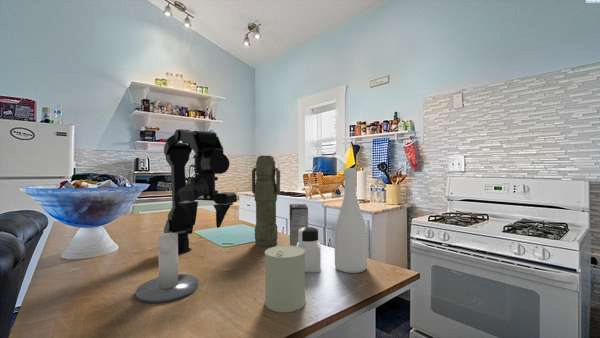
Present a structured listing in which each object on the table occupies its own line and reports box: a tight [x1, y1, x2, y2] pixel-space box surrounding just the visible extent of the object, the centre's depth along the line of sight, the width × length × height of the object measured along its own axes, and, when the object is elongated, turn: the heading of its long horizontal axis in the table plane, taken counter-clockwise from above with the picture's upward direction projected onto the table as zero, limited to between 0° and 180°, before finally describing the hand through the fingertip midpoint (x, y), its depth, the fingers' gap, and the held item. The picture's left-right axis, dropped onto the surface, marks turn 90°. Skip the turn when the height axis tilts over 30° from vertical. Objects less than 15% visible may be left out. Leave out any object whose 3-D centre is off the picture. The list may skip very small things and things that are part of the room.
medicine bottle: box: [296, 226, 322, 273], centre depth 84 cm, size 7×7×12 cm
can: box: [264, 245, 307, 313], centre depth 63 cm, size 9×9×12 cm
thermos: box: [251, 155, 281, 249], centre depth 110 cm, size 9×12×35 cm
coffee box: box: [289, 203, 309, 246], centre depth 105 cm, size 9×6×16 cm
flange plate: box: [135, 273, 199, 304], centre depth 70 cm, size 14×14×1 cm
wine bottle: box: [333, 167, 368, 274], centre depth 84 cm, size 10×10×30 cm
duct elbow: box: [157, 232, 179, 289], centre depth 69 cm, size 7×4×12 cm, turn 19°
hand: (205, 226), depth 83 cm, fingers open, 9 cm apart
